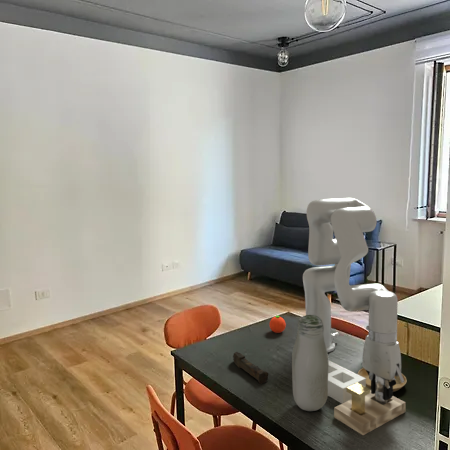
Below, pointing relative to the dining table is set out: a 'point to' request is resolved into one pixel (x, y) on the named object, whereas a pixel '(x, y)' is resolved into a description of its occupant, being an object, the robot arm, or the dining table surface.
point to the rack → (341, 382)
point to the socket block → (369, 413)
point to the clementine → (277, 324)
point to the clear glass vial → (379, 389)
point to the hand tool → (250, 368)
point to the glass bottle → (310, 364)
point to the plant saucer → (364, 374)
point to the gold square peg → (358, 397)
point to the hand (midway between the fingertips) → (381, 394)
